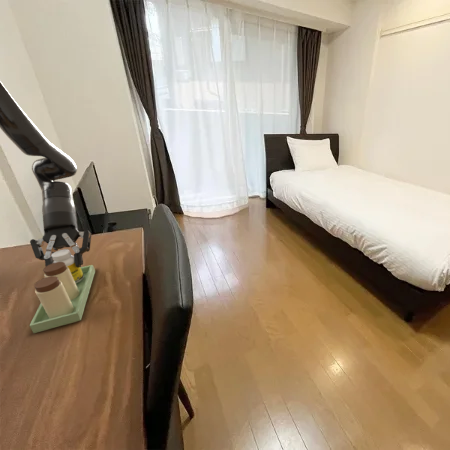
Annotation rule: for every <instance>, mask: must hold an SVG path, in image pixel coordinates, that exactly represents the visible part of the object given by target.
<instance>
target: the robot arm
mask: <svg viewBox="0 0 450 450" xmlns="http://www.w3.org/2000/svg"><path fill="white" fill-rule="evenodd" d="M0 130H1V131H2V132H3V134H4V135H6V137H7V138H8V139H9V140H10V141H11V142H12V143H13V144H14V145H15V146H16V148H18V149H19V150H20V151H21V152H22V154H24V155H27V156H29V157H41V158H38V159H36V160H34V162H32V165H31V171H32V174H33V175H34V177H35V179H36V181H37V183H38V185H39V189H40V191H41V196H42V197H41V198H42V205H41V211H42V212H41V213H42V222H43V223H42V224H43V233H44V234H43V235H42V237H41V238H38V239H34V238H32V239H30V241H29V244H30V246H31V249H32V253H33V255H34V257H35V259H37V260H40V261H44V266H45V267H46V266H48V265H50V264H52V263H53V262H54V259H53V257H52V254H53V253H54V252H56V251H59V250H63V249H65V248H71V249H72V251H73V252H74V254H73V256H74V259H75V266H76V267H77V268H79V267H82V266H83V265H84V257H83V255H84V254H85V253H86V252H90V250H91V242H92V233H91V232H90V231H89V230H87V229H86V230H84V231H79V229H78V227H79V226H78V218H77V211H76V206H75V203H74V196H73V195H74V193H73V188H72V186H71V185H70V184H69V183H67V182H64V181H58V180H63V179H67V178H70V177H73V176H75V175H76V174H77V172H78V167H77V164H76V162H75V161H74V159H72V157H71V156H70V155H68V154H67V153H65V152H64V151H63V150H61V149H60V148H59V147H57V146H56V145H55V144H54V143H52V142H51V141H49V139H48V138H47V137H46V136H45V135H44V133H43V132H42V131H41V130H40V129H39V128H38V126H37V125H36V124H35V123H34V121H32V120H31V118H30V117H29V116H28V115H27V113H26V112H25V111H24V110H23V109H22V107H21V106H20V105H19V104H18V102H17V101H16V100H15V99H14V98H13V97H12V95H11V94H10V92H9V91H8V89H7V88H6V87H5V86H4V84H3V82H2V81H1V80H0ZM42 157H43V158H42ZM80 237H81V238H82V244H81V247H80V246H79V245H78V243H77V240H78V239H79V238H80ZM44 243H46V244H47V246H46V248H45V253H44V250H43V246H44ZM45 267H44V268H45Z"/></svg>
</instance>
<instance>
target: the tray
mask: <svg viewBox="0 0 450 450" xmlns="http://www.w3.org/2000/svg"><path fill="white" fill-rule="evenodd" d="M80 268H81V270H82V272H83V275H84V278H83V280H81V281H80V282H78V283H76V286H77V288H78V290H79V292H80V293H79V295H78V296H77V297H76V298H74V299H73V300H70V301H71V303H72V305H73V307H74V311H73V312H72V313H71V314H67V315H63V316H59V317H55V318H52V319H50V318H49V317H48V315H47V313H46V311H45V309H44V307H43V306H42V304H41V303H40V304H39V305H38V307H37V310H36V312H35V313H34V316H33V318H32V320H31V322H30V324H29V328H30V330H31V331H32V333H33V334H36V333H40V332H43V331H47V330H51V329H54V328H58V327H61V326H65V325H69V324H72V323H77V322H79V321H82V318H83V314H84V311H85V307H86V304H87V301H88V298H89V295H90V291H91V287H92V284H93V280H94V277H95V274H96V269H95V267H94V264H90V265H85V266H81V267H80Z"/></svg>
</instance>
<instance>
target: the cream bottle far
mask: <svg viewBox="0 0 450 450" xmlns="http://www.w3.org/2000/svg"><path fill="white" fill-rule="evenodd" d="M33 287H34V289H35V290H34V292H35V294H36V297H37V299H38V300H39V302H40V304H42V306H43V307H44V309H45V311H46V313H47V315H48V317H49V318H50V319H52V318H55V317H59V316H63V315H67V314H71V313H72V312H73V311H74V307H73V305H72V303H71V301H70V299H69V296H68V294H67V292H66V290H65V288H64V286H63V284H62V282H61V281H59V279H58V277H56V276H51V277H46V278H45V277H43V278H41V279H39V280H38V281H36V282H35V283H34V285H33Z"/></svg>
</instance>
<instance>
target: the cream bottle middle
mask: <svg viewBox="0 0 450 450" xmlns="http://www.w3.org/2000/svg"><path fill="white" fill-rule="evenodd" d="M42 271H43V273H44V274H43V276H44V278H46V277H51V276H56V277H58V279H59V281H61V282H62V284H63V286H64V288H65V290H66V292H67V294H68V296H69V299H70V300H73V299H74V298H76V297H77V296H78V295H79V293H80V292H79V290H78V288H77V286H76V283H75V281H74V279H73V277H72V275H71V272H70V270H69V268H68V267H67V266H66V265H65V263H64V262H56V263H52V264H50V265H48V266H46V267H43V270H42Z"/></svg>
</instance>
